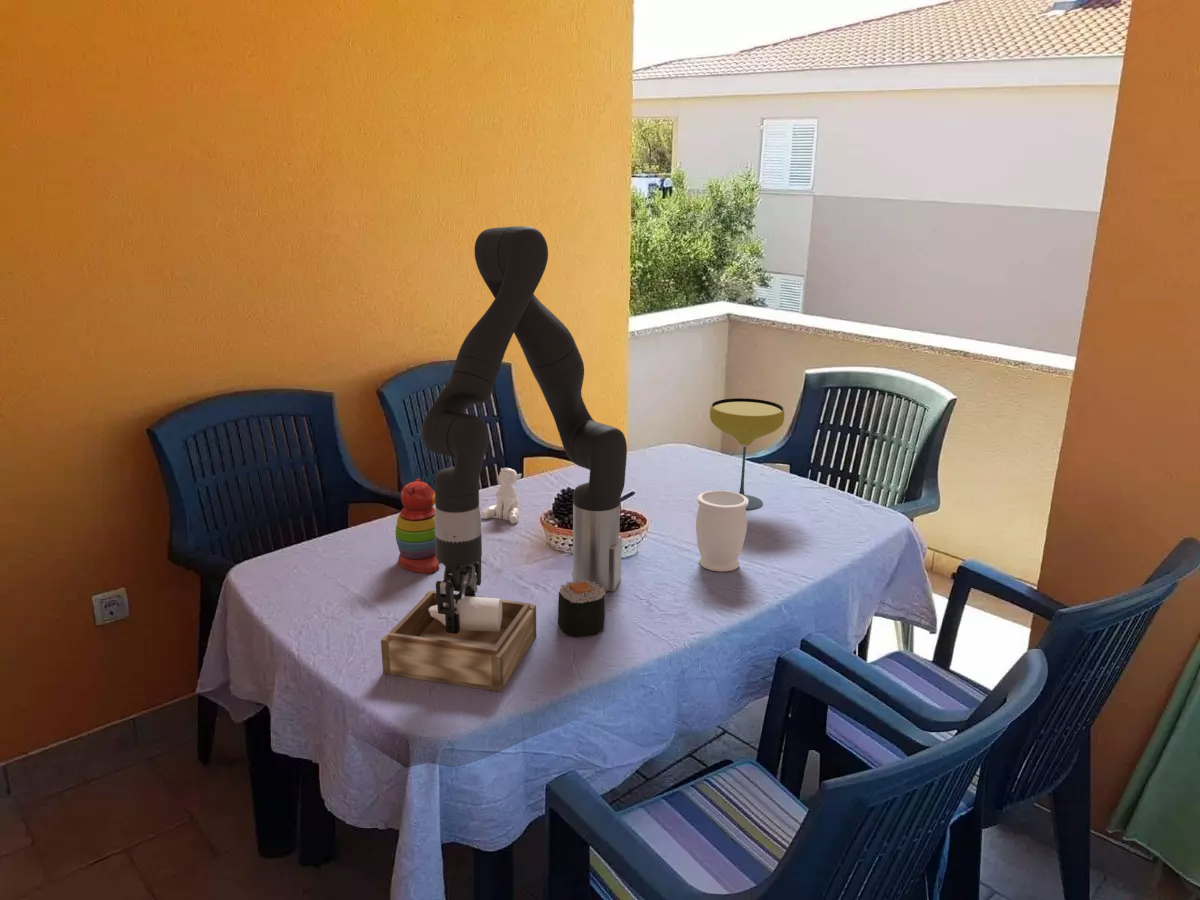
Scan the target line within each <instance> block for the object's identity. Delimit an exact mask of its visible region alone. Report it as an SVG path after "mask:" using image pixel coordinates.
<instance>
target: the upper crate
mask: <svg viewBox="0 0 1200 900" xmlns="http://www.w3.org/2000/svg"><path fill="white" fill-rule="evenodd" d="M429 591H430V592H429V593H428V594H427V595H426V596H425V595H424V596H425V597H424V596H423V597H424V598H423V597H422V598H423V599H422V598H421V599H422V600H421V599H420V600H421V601H420V600H419V601H420V602H419V601H418V602H419V603H418V602H417V603H418V604H417V603H416V604H417V605H416V604H415V605H416V606H415V605H414V606H415V607H414V608H413V607H412V609H411V610H409V612H408V613H406V614H405V616H404V617H403V618H401V620H400V621H398V622H397V624H396V625H395V626H394V627H395V628H394V627H393V628H394V629H393V628H392V629H393V630H392V629H391V630H392V631H391V630H390V631H391V632H390V631H389V632H390V633H389V632H388V633H389V634H388V633H387V634H388V635H387V634H386V635H387V637H388V638H390V639H391V640H397V641H403V642H410V643H417V644H424V645H431V646H437V647H444V648H451V649H458V650H465V651H471V652H478V653H485V654H497V653H498V652H499V651H500V650H501V648H502V647H503V646H504V644H505V643H506V641H507V640H508V638H509V637H510V636H511V634H512V633H513V631H514V630H515V628H516V627H517V626H518V624H519V623H520V621H521V620H522V619H523V617H524V616H525V614H526V613H527V611H528V610H529V608H530V604H531V603H530V602H523V601H516V600H509V599H508V600H507V599H501V601H502V622H501V627H500V630H499V631H498V632H494V631H474V630H460V631H459V632H458V633H457V634H453V633H448V632H446V626H445V625H444V624H443V623H441V621H439V620H437V619H436V618H434V617H431V615H430V612H429V608H430V607H431V606H435V605H437V595H436V590H429ZM453 594H456V595H457V594H458V593H454V592H453ZM475 597H479V596H477V595H475ZM482 597H483V598H487V597H484V596H482ZM443 604H444V603H443Z"/></svg>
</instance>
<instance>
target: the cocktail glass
mask: <svg viewBox="0 0 1200 900" xmlns="http://www.w3.org/2000/svg"><path fill="white" fill-rule="evenodd" d="M709 419H710V421H711V423H712V424H713V426H715V427H716V428H717V429H719V430H721V432H724V433H725V434H727V435H730V436H731V437H733V438H734V439H736V441H737V442H738V443H739V444H740V446H742V448H743V449H742V465H741V466H742V467H741V478H740V480H741V481H740V486H739V487H740V488H739V492H738V493H739V494H742V495H744V496H746V497H747V498H748V500H749V501H748V506H747V507H746V508H745V509H746V511H752V510H757V509H759V507H760V508H761V507H762V506H763V504H764V503H763V501H762V499H760V498H758V497H756V496H753V495H750V494H745V469H746V467H745V465H746V453H747V451H746V450H747V447H749V446H750V445H751V444H752V443H753V442H755V440H757V439H759V438H761V437H764V436H767V435H769V434H772V433H774V432H776V431H777V430H778V429H780V428H781V427H782V425H783V424H784V421H785V409H784V407H783V406H782V405H780V404H778V403H776V402H773V401H770V400H763V399H759V398H745V397H744V398H742V397H738V398H734V397H733V398H725V399H721V400H716V401H714V402H712V403H711V406H710V409H709Z"/></svg>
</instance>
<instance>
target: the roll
mask: <svg viewBox="0 0 1200 900" xmlns="http://www.w3.org/2000/svg"><path fill="white" fill-rule="evenodd" d="M483 597H484V596H478V597H470V596H464V599H463V600H461V602H460V609H459V619H460V630H474V631H494V632H498V631H499V630H500V627H501V622H502V601H501V600H502V599H501V598H498V597H497V598H495V597H494V598H493V597H492V598H491V597H486V598H483ZM454 606H455V599H454ZM429 612H430V615H431V617H434V618H436V619H437V620H439V621H441V623H443V624H444V625H445V626H446V622H445V615H444V614H438V607H437V605H435V606H431V607H430V608H429Z"/></svg>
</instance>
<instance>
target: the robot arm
mask: <svg viewBox="0 0 1200 900" xmlns="http://www.w3.org/2000/svg"><path fill="white" fill-rule="evenodd" d="M474 243H475V244H474V259H475V263H476V266H477V269H478V271H479V274H480V276H481V277H482V279H483V282H484V283H485V284H486V286H487V288H488V289H489V291H490V292H491V293H490V294H492V296H493V298H494V299H493V301H492V303H491V304H490V306H489V307H488V309H487V310H486V311H485V313H484V314H483V315H482V316H481V317H480V318H479V320H478V321H477V322H476V324H474V326H473V327H472V329H471V330H470V331H469V332H468V334H467V335H466V337H465V338H464V340H463V342H462V344H461V346H460V348H459V351H458V353H457V357H456V360H455V363H454V365H453V368H452V372H451V374H450V377H449V380H448V382H447V384H446V385H445V386H444V388H443V389H442V390H441V392H440V394H439V395H438V396H437V398H436V400H435V401H434V402H433V404H432V406H431V407H430V409H429V411H428V412H427V414H426V416H425V418H424V421H423V424H422V427H421V428H422V429H421V438H422V441H423V444H424V446H425V448H426V449H427V450H428V451H430V452H432V453H435V454H438V455H444V456H448V457H451V458H452V457H453V458H455V465H454V466H449V467H446V468H442V469H441V470H438V472H437V473H436V475H435V476H434V491H435V504H434V506H435V508H434V509H435V545H436V558H437V560H438V561H439V562H440V563H441V564H442V565H444V567H445V568H444V573H443V576H442V577H443V580H437V581H436V583H435V591H436V595H437V607H438V614H444V615H445V622H446V632H448V633H453V634H457V633H458V632H459V631H460V619H459V609H460V602H461V600H463V599H464V596H470V597H475V596H476V593H477V592H478V586H481V584H482V555H483V546H482V545H483V542H482V539H483V538H482V516H481V508H480V486H479V483H480V482H479V481H480V477H481V474H482V469H483V464H484V462H485V461H484V460H485V456H486V454H487V450H488V444H489V431H488V428H487V425H486V424H485V421H484V420H483V419H482V418H480V417H479V416H477V415H474V414H467V413H465V411H466V410H467V409H468V408H469V407H471V406H474V405H479V404H480V405H481V404H484V403H487V402H488V401H489V400H490V398H491V396H492V393H493V390H494V387H495V384H496V381H497V378H498V374H499V372H500V369H501V365H502V362H503V360H504V358H505V353H506V351H507V349H508V346H509V344H510V342H511V340H512V338H513V336H515V338H516V339H517V342H518V343H519V345H520V347H521V349H522V352H523V354H524V357H525V359H526V362H527V363H528V366H529V369H530V371H531V372H532V375H533V377H534V379H535V380H536V382H537V384H538V386H539V388H540V390H541V393H542V394H543V397H544V399H545V401H546V403H547V404H546V405H547V406H548V408H549V410H550V413H551V414H552V417H553V420H554V422H555V425H556V428H557V431H558V434H559V437H560V440H561V444H562V447H563V449H564V452H565V454H566V456H567V458H568V459H569V460H570V461H571V462H572V463H573V464H574V465H577V466H578V467H580V468H583V469H586V470H588V471H589V479H588V482H585V483H582V484H579V485H578V486H576V487H575V489H574V490H573V495H572V496H573V497H572V582H573V581H574V582H576V580H577V579H579V580H580V581H581V580H587V581H590V582H595V585H596V584H599V586H598V587H600V588H604V590H603V591H605V592H615V591H616V589H617V587H618V586H619V583H620V582H621V579H622V550H623V549H622V548H623V547H622V544H623V543H622V542H623V540H622V539H623V537H622V536H621V535H620V522H621V520H620V519H621V496H622V494H623V491H624V488H625V484H626V483H625V482H626V469H627V458H628V457H627V455H628V445H627V440H626V436H625V434H624V432H622V431H621V429H619V428H618V427H614V426H612V425H609V424H606V423H605V424H604V423H601V422H598V421H596V420H594V418H593V417H592V416H591V415H590V412H589V411H588V409H587V407H586V403H585V402H584V399H583V396H582V395H583V394H582V389H583V385H584V384H583V383H584V380H585V379H584V378H585V365H584V361H583V358H582V355H581V353H580V351H579V349H578V346H577V343H576V341H575V339H574V336H573V335H572V333H571V332H570V330H569V329H568V327H567V326H566V325H565V324H564V323H563V321H562V320H560V319H559V318H558V317H557V316H556V315H555V314H554V313H553V312H552V311H551V310H550V309H549V308H547V306H545V305H544V304H543V302H541V301H540V300H539V298H537V296H536V295H535V294H534V293H535V291H536V290H537V288H538V286H539V283H541V280H542V278H543V275H544V273H545V270H546V268H547V264H548V260H549V259H548V258H549V247H548V243H547V240H546V239H545V236H544V235H543V233H542V232H541V231H540V230H538V229H537V228H535V227H532V226H522V225H518V226H514V225H513V226H501V227H492V228H491V227H490V228H487V229H484V230H483V231H481V232H480V233H479V235H478V236H477V237H476V240H475V242H474ZM513 334H514V335H513ZM454 592H458V593H456V594H457V595H456V594H453V593H454ZM454 599H455V606H454ZM443 603H444V604H443Z"/></svg>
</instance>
